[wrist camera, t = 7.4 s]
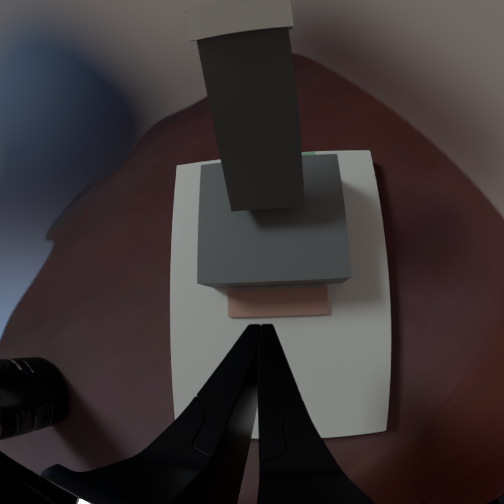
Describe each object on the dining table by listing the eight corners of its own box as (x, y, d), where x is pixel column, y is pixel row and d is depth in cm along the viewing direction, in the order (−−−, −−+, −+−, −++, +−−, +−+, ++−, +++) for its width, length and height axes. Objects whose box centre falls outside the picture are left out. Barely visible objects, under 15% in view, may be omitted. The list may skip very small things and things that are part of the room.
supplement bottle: (52, 346, 21) (-56, 347, 9) (81, 414, 19) (-23, 445, 7) (22, 368, 21) (-68, 372, 9) (47, 427, 19) (-41, 451, 8)
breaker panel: (381, 424, 16) (399, 449, 11) (182, 424, 18) (157, 446, 14) (366, 158, 19) (378, 126, 15) (182, 172, 22) (160, 145, 17)
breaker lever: (309, 209, 13) (288, -10, 7) (226, 215, 14) (183, 7, 8) (306, 188, 15) (286, -1, 9) (232, 193, 16) (197, 12, 9)
